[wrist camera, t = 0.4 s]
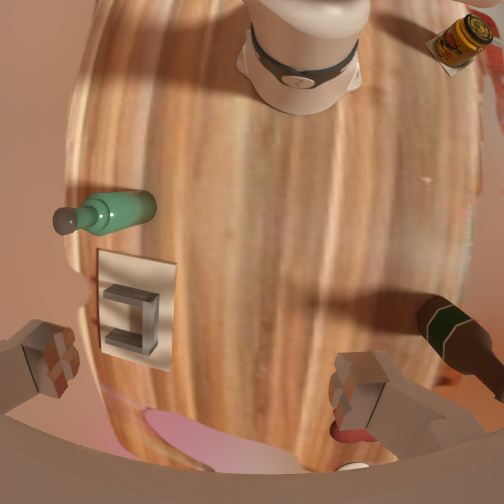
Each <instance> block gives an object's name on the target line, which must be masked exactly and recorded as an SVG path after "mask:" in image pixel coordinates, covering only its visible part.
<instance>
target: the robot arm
mask: <svg viewBox="0 0 504 504" xmlns="http://www.w3.org/2000/svg"><path fill="white" fill-rule="evenodd" d="M242 1H243V2H244V3H245V5H246V6H247V8H248V11H249V14H250V17H251V18H250V22H251V29H248V30H247V31H246V35H245V37H246V38H247V39H246V41H245V43H244V45H243V47H242V50H241V52H240V54H239V56H238V59H237V61H236V67H237V69H238V70H239V71H240V72H241V73H242V74H243V75H245V76H246V77H247V78H249V79H250V81H251V82H252V84H253V86H254V88H255V90H256V91H257V93H258V94H259V95H260V97H261V98H262V99H263V100H264V101H265V102H267V103H268V104H269V105H271V106H272V107H274V108H276V109H278V110H280V111H283V112H286V113H289V114H295V115H309V114H315V113H318V112H321V111H323V110H325V109H327V108H329V107H331V106H332V105H333V104H334V103H335V102H336V101H337V100H338V99H339V98H340V97H342V96H343V95H344V94H347V93H350V92H352V91H355V90H357V89H358V88H359V87H360V85H361V75H360V68H359V61H358V54H357V46H358V41H359V36H360V34H361V32H362V30H363V28H364V26H365V25H366V23H367V20H368V18H369V15H370V0H242ZM453 1H457V2H461V3H465V4H468V5H472V6H475V7H479V8H489V7H493V6H496V5H499V4H501V3H503V2H504V0H453ZM74 341H75V337H74V333H73V330H72V329H71V328H70V327H66V326H61V325H57V324H54V323H49V322H45V321H41V320H37V319H32V320H31V321H30V322H29V323H27V324H26V325H25V326H24V327H23V328H22V329H20V330H19V331H18V332H17V333H16V334H14V335H13V336H12V337H11V338H10V339H9V340H8V341H7V340H2V341H0V504H504V428H501V429H499V430H497V431H494V432H492V433H490V434H487V433H486V431H485V430H484V429H483V427H482V426H481V424H480V423H479V422H478V420H477V419H476V417H475V416H474V415H473V413H472V412H471V411H470V410H469V409H467V408H465V407H463V406H461V405H459V404H457V403H454V402H453V401H451V400H449V399H447V398H445V397H443V396H441V395H439V394H437V393H435V392H433V391H431V390H429V389H427V388H425V387H423V386H421V385H419V384H417V383H415V382H414V381H412V380H406V379H405V378H404V376H403V375H402V373H401V372H400V370H399V369H398V367H397V366H396V364H395V363H394V361H393V360H392V358H391V357H390V355H389V354H388V352H387V351H385V350H379V351H369V352H349V353H338V354H337V356H336V359H335V363H334V365H335V368H336V370H337V371H336V372H335V373H334V374H333V375H331V378H330V382H329V400H330V403H331V405H332V406H333V407H334V408H336V411H335V414H334V416H335V420H336V423H337V426H338V429H339V431H343V430H357V429H366V431H368V432H369V433H370V434H371V435H372V436H373V437H374V438H376V439H377V440H378V441H379V442H380V443H381V444H383V445H384V446H385V447H386V448H387V449H388V450H390V451H391V452H392V453H393V454H394V455H395V456H397V457H398V458H399V459H400V460H401V461H397V462H392V463H387V464H382V465H376V466H370V467H364V468H357V469H350V470H342V471H333V472H322V473H308V474H283V475H257V474H256V475H255V474H254V475H253V474H231V473H218V472H207V471H198V470H190V469H182V468H175V467H169V466H163V465H157V464H152V463H147V462H142V461H137V460H133V459H128V458H124V457H120V456H116V455H112V454H108V453H104V452H101V451H98V450H94V449H91V448H87V447H84V446H81V445H78V444H75V443H72V442H69V441H66V440H63V439H60V438H58V437H55V436H53V435H50V434H47V433H45V432H42V431H40V430H37V429H35V428H33V427H30V426H28V425H26V424H23V423H21V422H19V421H17V420H15V419H12V418H11V417H9V416H6V415H4V414H5V413H7V412H8V411H10V410H12V409H13V408H15V407H17V406H18V405H20V404H22V403H24V402H25V401H27V400H29V399H31V398H33V397H34V396H36V395H38V393H41V394H44V395H47V396H50V397H54V398H57V399H59V398H60V397H61V396H62V394H63V393H64V391H65V390H66V389H67V387H68V384H67V381H69V380H71V379H73V378H74V377H75V376H76V374H77V373H78V369H79V365H80V362H79V354H78V351H77V350H76V348H75V347H74V346H73V343H74Z"/></svg>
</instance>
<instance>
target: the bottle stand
mask: <svg viewBox="0 0 504 504" xmlns="http://www.w3.org/2000/svg"><path fill="white" fill-rule="evenodd" d="M176 274H177V263H172V262H167V261H162V260H157V259H151V258H146V257H141V256H136V255H131V254H126V253H121V252H116V251H111V250H106V249H101V250H99V317H100V335H101V348H102V352H103V353H106V354H109V355H112V356H115V357H118V358H122V359H125V360H128V361H131V362H135V363H138V364H141V365H145V366H148V367H152V368H155V369H159V370H163V371H167V372H169V371H170V369H171V354H172V332H173V315H174V300H175V286H176Z"/></svg>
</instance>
